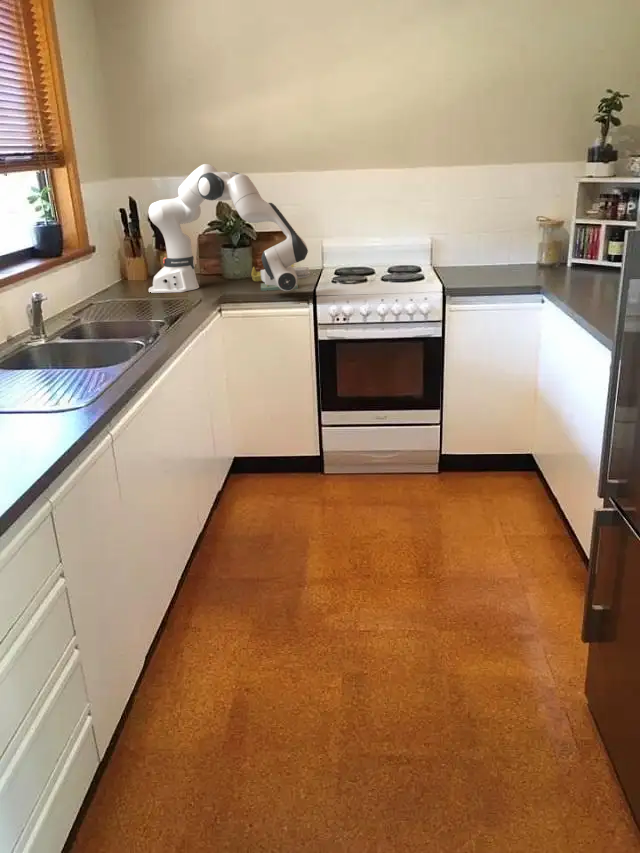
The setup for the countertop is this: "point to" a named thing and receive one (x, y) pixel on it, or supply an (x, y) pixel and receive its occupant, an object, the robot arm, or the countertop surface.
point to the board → (271, 287)
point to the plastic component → (258, 274)
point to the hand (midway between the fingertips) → (284, 270)
